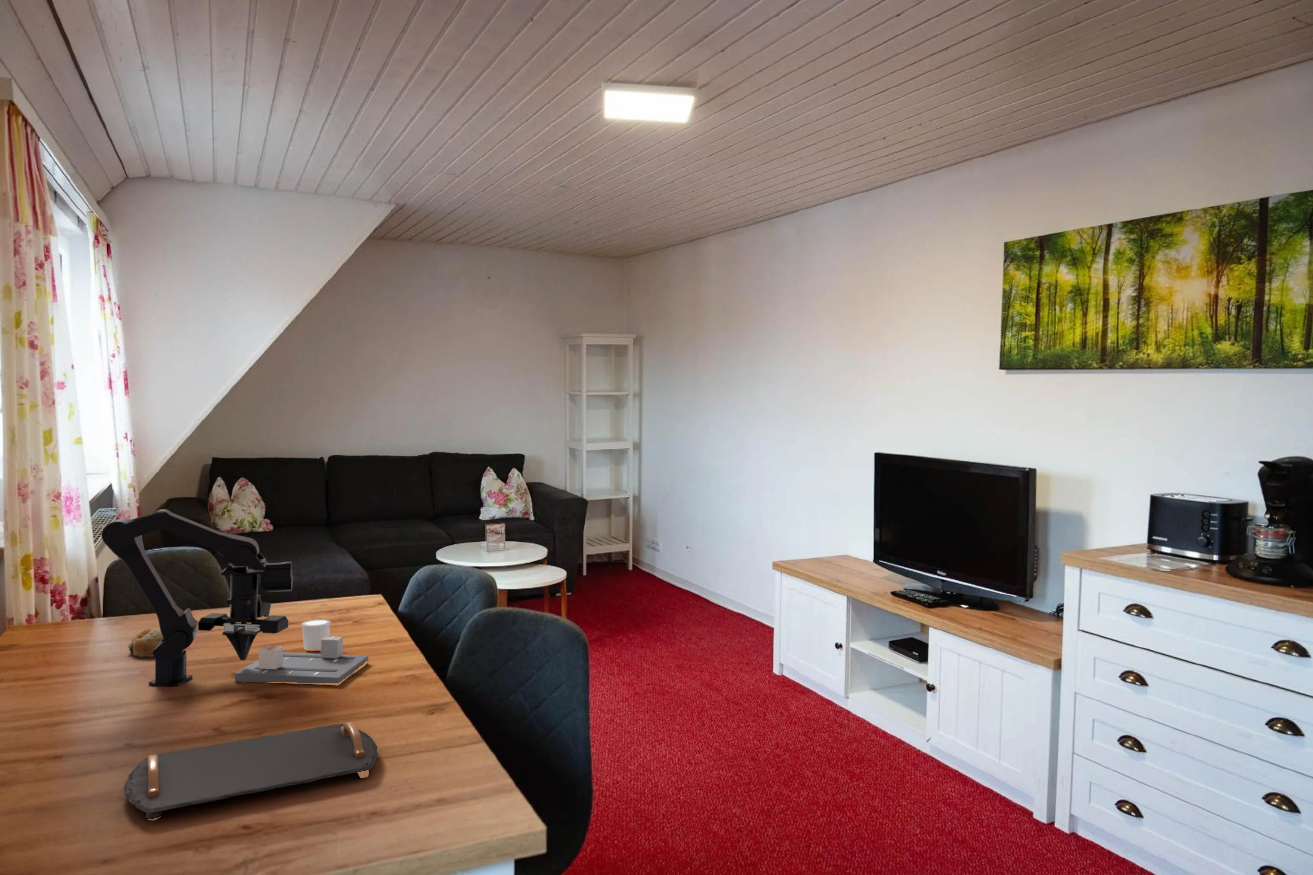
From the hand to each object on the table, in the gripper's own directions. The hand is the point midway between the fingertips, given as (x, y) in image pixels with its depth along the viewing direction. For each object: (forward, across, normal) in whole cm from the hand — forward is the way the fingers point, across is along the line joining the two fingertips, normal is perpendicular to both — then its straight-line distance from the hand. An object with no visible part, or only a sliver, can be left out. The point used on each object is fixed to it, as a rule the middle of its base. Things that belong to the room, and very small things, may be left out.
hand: (243, 659), depth 194 cm
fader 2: (+1, -17, -10) cm, 19 cm away
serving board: (+4, -30, +50) cm, 59 cm away
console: (+4, -13, -4) cm, 14 cm away
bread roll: (+4, +32, -15) cm, 35 cm away
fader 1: (+1, -7, 0) cm, 7 cm away
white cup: (+4, -6, -23) cm, 24 cm away
